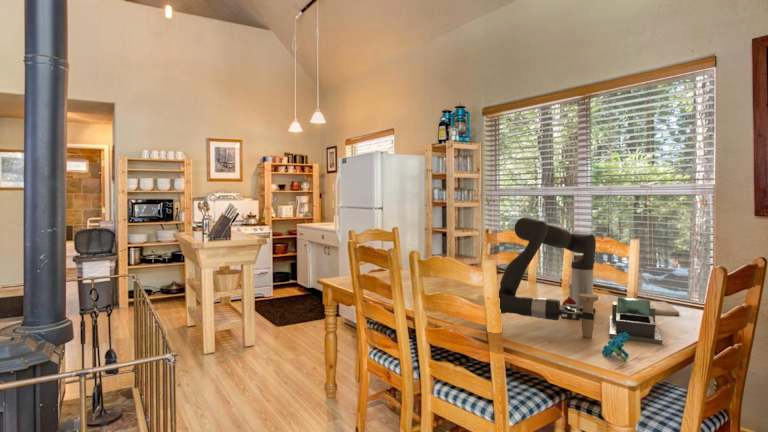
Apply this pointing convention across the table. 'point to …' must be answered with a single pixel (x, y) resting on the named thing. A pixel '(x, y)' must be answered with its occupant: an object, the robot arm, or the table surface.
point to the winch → (634, 320)
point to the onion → (569, 301)
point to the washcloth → (663, 308)
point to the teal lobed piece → (616, 345)
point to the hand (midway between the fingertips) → (594, 314)
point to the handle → (588, 308)
